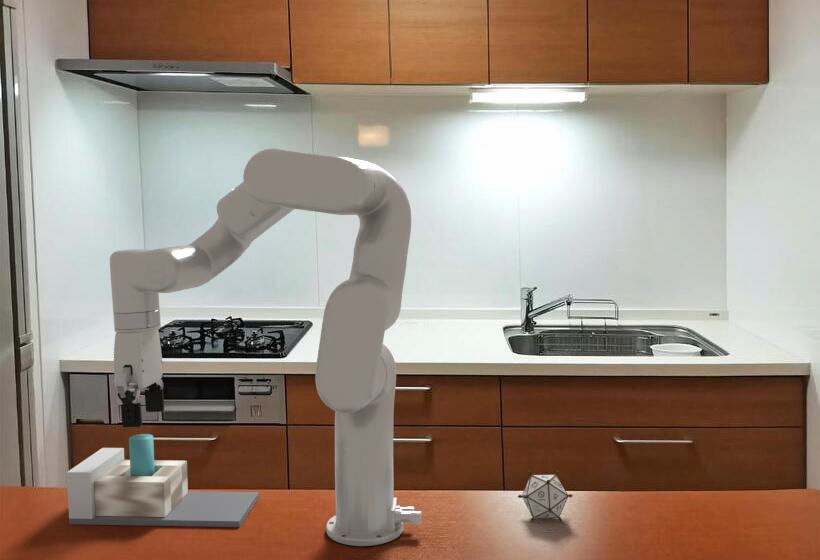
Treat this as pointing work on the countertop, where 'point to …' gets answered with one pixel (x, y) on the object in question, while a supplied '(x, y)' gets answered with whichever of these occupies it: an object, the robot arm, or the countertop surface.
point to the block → (141, 490)
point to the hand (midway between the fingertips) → (144, 418)
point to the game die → (544, 496)
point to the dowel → (141, 455)
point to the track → (188, 512)
